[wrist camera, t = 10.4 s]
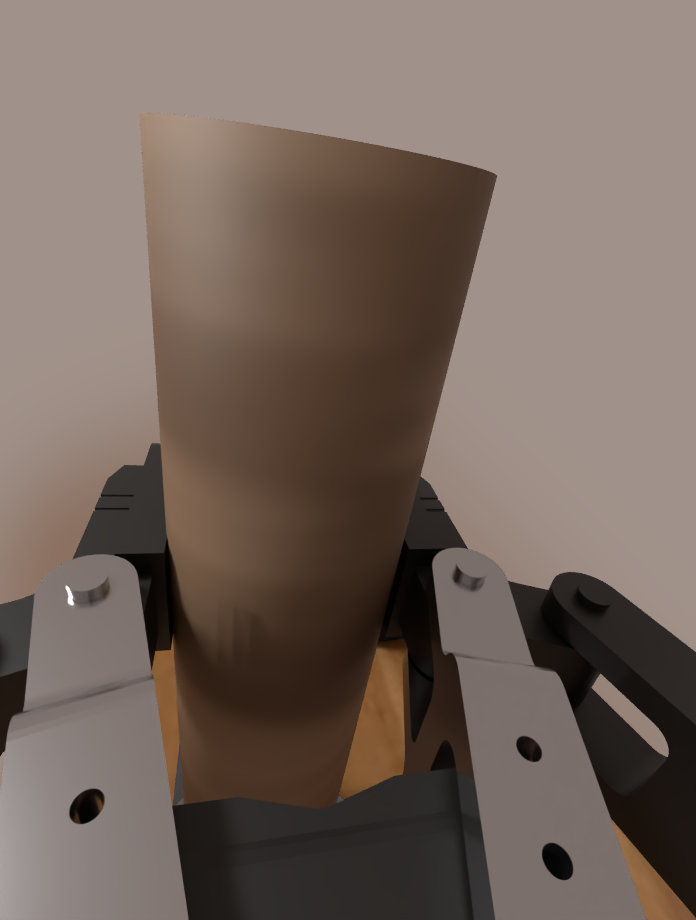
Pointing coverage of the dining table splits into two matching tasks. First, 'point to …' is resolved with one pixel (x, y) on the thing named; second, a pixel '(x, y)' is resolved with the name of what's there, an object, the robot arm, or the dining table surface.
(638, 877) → the dining table surface
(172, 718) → the dining table surface
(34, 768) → the robot arm
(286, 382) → the rail post
